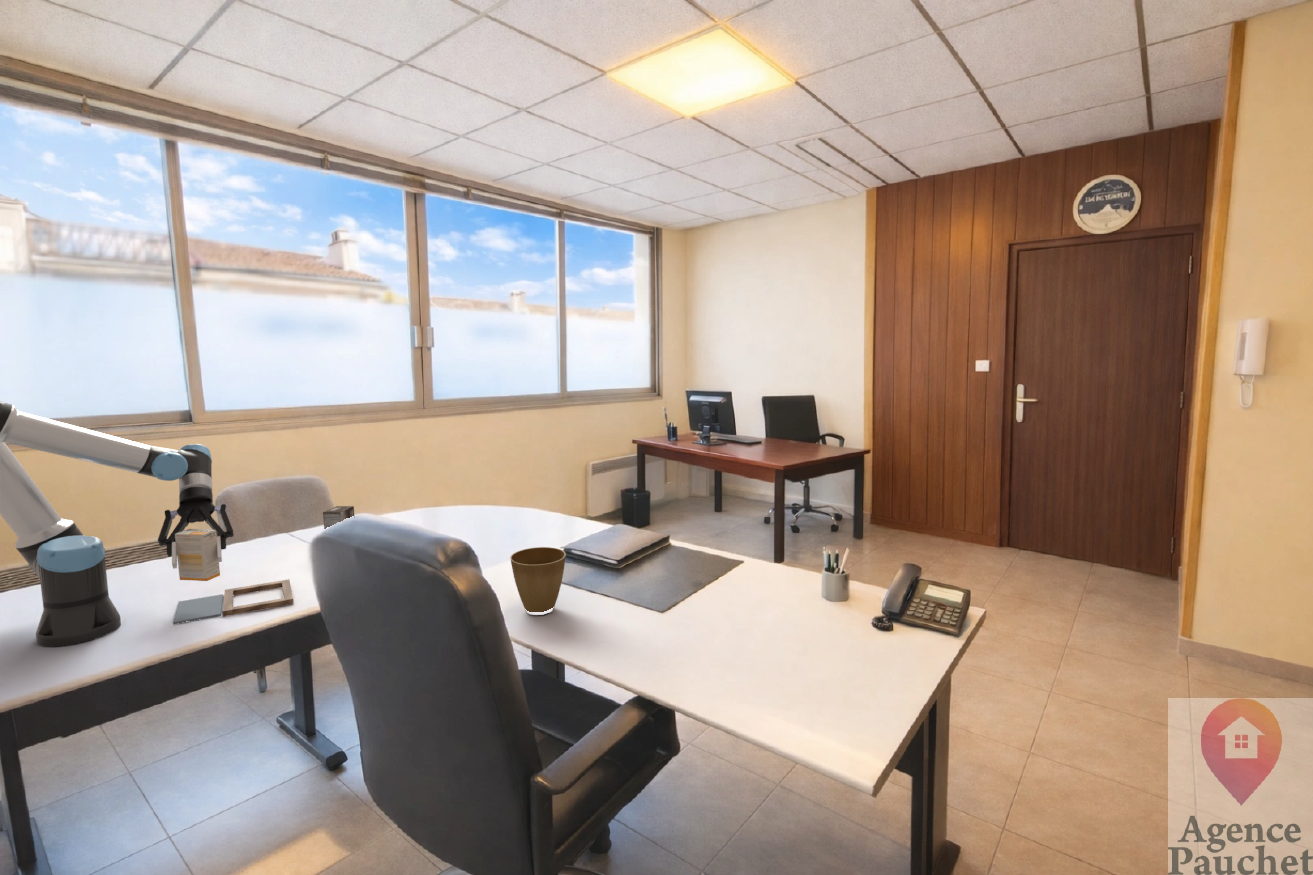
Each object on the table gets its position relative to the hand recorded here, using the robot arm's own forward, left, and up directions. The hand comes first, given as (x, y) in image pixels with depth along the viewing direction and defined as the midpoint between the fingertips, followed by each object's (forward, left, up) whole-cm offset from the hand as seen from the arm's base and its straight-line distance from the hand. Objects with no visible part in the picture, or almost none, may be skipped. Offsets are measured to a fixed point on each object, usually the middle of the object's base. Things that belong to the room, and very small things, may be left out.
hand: (197, 562), depth 160 cm
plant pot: (+77, -47, -14) cm, 91 cm away
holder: (+13, +3, -14) cm, 19 cm away
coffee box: (+38, +37, -14) cm, 55 cm away
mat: (-1, +3, -14) cm, 14 cm away
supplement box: (0, +3, -5) cm, 6 cm away
